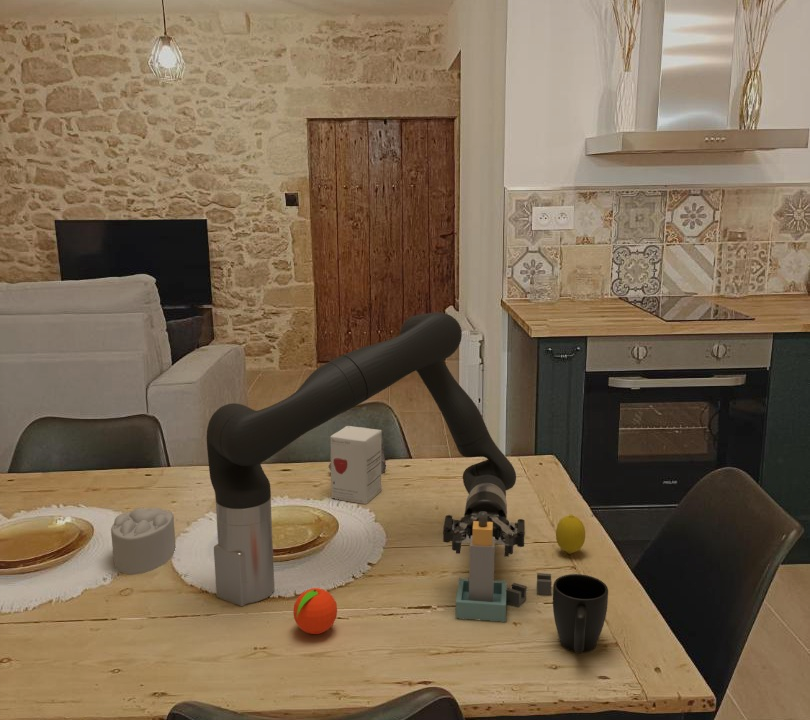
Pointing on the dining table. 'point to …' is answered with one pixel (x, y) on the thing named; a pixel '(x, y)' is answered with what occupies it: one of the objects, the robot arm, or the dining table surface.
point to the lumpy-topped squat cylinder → (142, 540)
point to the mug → (579, 610)
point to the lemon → (570, 534)
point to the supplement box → (356, 464)
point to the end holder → (481, 603)
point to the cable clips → (519, 591)
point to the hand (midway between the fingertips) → (482, 549)
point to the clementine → (315, 611)
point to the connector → (481, 560)
